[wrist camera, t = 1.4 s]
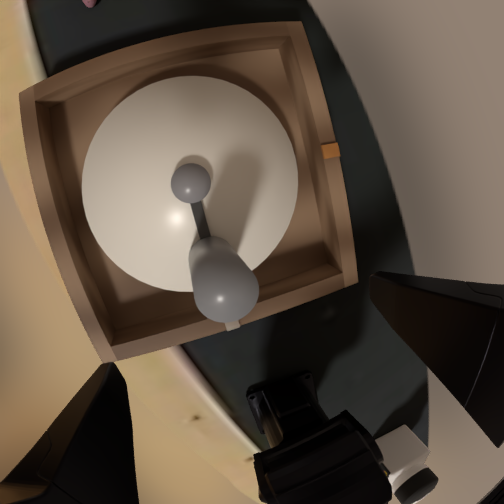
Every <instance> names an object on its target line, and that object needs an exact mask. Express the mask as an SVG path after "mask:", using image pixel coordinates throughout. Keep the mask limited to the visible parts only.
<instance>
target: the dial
mask: <svg viewBox="0 0 504 504" xmlns="http://www.w3.org/2000/svg"><path fill="white" fill-rule="evenodd" d="M297 191H298V170H297V164H296V158H295V154H294V151H293V147H292V144H291V142H290V140H289V137H288V135H287V133H286V131H285V129H284V128H283V126H282V124H281V123H280V121H279V120H278V118H277V117H276V116H275V115H274V113H273V112H272V111H271V110H270V109H269V108H268V107H267V106H266V105H265V104H264V103H263V102H262V101H261V100H260V99H258V98H257V97H255V96H254V95H253V94H251V93H250V92H248V91H247V90H245V89H243V88H241V87H239V86H237V85H235V84H232V83H229V82H227V81H224V80H220V79H216V78H211V77H204V76H180V77H174V78H169V79H164V80H161V81H158V82H155V83H152V84H150V85H148V86H146V87H144V88H142V89H140V90H138V91H136V92H135V93H133V94H132V95H130V96H129V97H127V98H126V99H124V100H123V101H122V102H121V103H120V104H119V105H117V106H116V107H115V108H114V109H113V110H112V111H111V113H110V114H109V115H108V116H107V117H106V118H105V120H104V121H103V122H102V124H101V125H100V127H99V128H98V130H97V132H96V133H95V135H94V137H93V140H92V142H91V144H90V146H89V149H88V152H87V155H86V158H85V162H84V168H83V173H82V198H83V206H84V210H85V214H86V218H87V221H88V223H89V226H90V229H91V231H92V233H93V235H94V237H95V239H96V240H97V242H98V244H99V245H100V247H101V248H102V249H103V251H104V252H105V253H106V255H107V256H108V257H109V258H110V259H111V260H112V261H113V262H114V263H115V264H116V265H117V266H118V267H120V268H121V269H122V270H123V271H125V272H126V273H127V274H129V275H131V276H132V277H134V278H136V279H137V280H139V281H141V282H144V283H146V284H149V285H151V286H154V287H158V288H161V289H165V290H171V291H178V292H193V293H194V299H195V303H196V305H197V307H198V309H199V310H200V312H201V313H202V314H203V315H204V316H206V317H207V318H209V319H211V320H213V321H216V322H222V323H228V322H233V321H237V320H239V319H241V318H243V317H244V316H246V315H247V314H248V313H249V312H250V311H251V310H252V309H253V307H254V306H255V304H256V302H257V300H258V296H259V285H258V281H257V278H256V276H255V275H254V273H253V272H252V270H253V269H255V268H256V267H257V266H258V265H260V264H261V263H262V262H263V261H264V260H265V259H266V258H267V257H268V256H269V255H270V254H271V252H272V251H273V250H274V249H275V248H276V246H277V245H278V243H279V242H280V240H281V239H282V237H283V236H284V234H285V232H286V230H287V228H288V226H289V224H290V221H291V218H292V215H293V212H294V208H295V204H296V199H297Z"/></svg>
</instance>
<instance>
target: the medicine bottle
mask: <svg viewBox="0 0 504 504" xmlns="http://www.w3.org/2000/svg"><path fill="white" fill-rule="evenodd" d="M375 441H376V443H377V445H378V446H379V448H380V450H381V452H382V455H383V458H384V461H383V462H382V463H380V466H381V467H382V469H383V471H384V473H385V474H386V476H387V478H388V480H389V482H390V484H391V486H392V492H393V493H394V495H395V496H396V497H397V499H398V500H399V501H400V503H401V504H415V503H416V502H418V501H420V500H421V499H423V498H424V497H425V496H426V495H428V494H429V493H430V492H431V491H432V490H433V489H434V488H435V486H436V484H437V482H438V477H437V476H436V475H435V474H434V473H433V472H432V471H431V470H430V469H429V467H428V466H427V465H425V464H424V463H425V461H426V459H427V457H428V455H429V453H430V450H429V449H428V448H427V447H426V446H425V444H424V443H423V442H422V441H421V440H420V439H419V438H418V437H417V436H416V435H415V434H414V433H413V432H412V431H411V430H410V429H409V428H408V427H407V426H406V425H402V426H400V427H399V428H397V429H395V430H393V431H391V432H389V433H387V434H385V435H383V436H381V437H379V438H377V439H375Z"/></svg>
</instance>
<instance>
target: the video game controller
mask: <svg viewBox="0 0 504 504" xmlns="http://www.w3.org/2000/svg"><path fill="white" fill-rule="evenodd" d="M96 1H97V0H83V2H84V4H85V5H86V6H87V7H89V8H92V7H94V6H95V4H96Z"/></svg>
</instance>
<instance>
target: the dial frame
mask: <svg viewBox="0 0 504 504" xmlns="http://www.w3.org/2000/svg"><path fill="white" fill-rule="evenodd" d="M180 76H204V77H211V78H216V79H220V80H224V81H227V82H229V83H232V84H235V85H237V86H239V87H241V88H243V89H245V90H247V91H248V92H250V93H251V94H253V95H254V96H255V97H257V98H258V99H260V100H261V101H262V102H263V103H264V104H265V105H266V106H267V107H268V108H269V109H270V110H271V111H272V112H273V113H274V115H275V116H276V117H277V118H278V120H279V121H280V123H281V124H282V126H283V128H284V129H285V131H286V133H287V135H288V137H289V140H290V142H291V144H292V147H293V151H294V154H295V158H296V164H297V170H298V191H297V199H296V204H295V208H294V212H293V215H292V218H291V221H290V224H289V226H288V228H287V230H286V232H285V234H284V236H283V237H282V239H281V240H280V242H279V243H278V245H277V246H276V248H275V249H274V250H273V251H272V252H271V254H270V255H269V256H268V257H267V258H266V259H265V260H264V261H263V262H262V263H261V264H260V265H258V266H257V267H256V268H255V269H253V270H252V272H253V273H254V275H255V276H256V278H257V281H258V285H259V296H258V300H257V302H256V304H255V306H254V307H253V309H252V310H251V311H250V312H249V313H248V314H247V315H246V316H244V317H243V318H241V319H239V320H237V321H233V322H228V323H222V322H216V321H213V320H211V319H209V318H207V317H206V316H204V315H203V314H202V313H201V312H200V310H199V309H198V307H197V305H196V303H195V299H194V293H193V292H178V291H171V290H165V289H161V288H158V287H154V286H151V285H149V284H146V283H144V282H141V281H139V280H137V279H136V278H134V277H132V276H131V275H129V274H127V273H126V272H125V271H123V270H122V269H121V268H120V267H118V266H117V265H116V264H115V263H114V262H113V261H112V260H111V259H110V258H109V257H108V256H107V255H106V253H105V252H104V251H103V249H102V248H101V247H100V245H99V244H98V242H97V240H96V239H95V237H94V235H93V233H92V231H91V229H90V226H89V223H88V221H87V218H86V214H85V210H84V206H83V198H82V173H83V168H84V162H85V158H86V155H87V152H88V149H89V146H90V144H91V142H92V140H93V137H94V135H95V133H96V132H97V130H98V128H99V127H100V125H101V124H102V122H103V121H104V120H105V118H106V117H107V116H108V115H109V114H110V113H111V111H112V110H113V109H114V108H115V107H116V106H117V105H119V104H120V103H121V102H122V101H123V100H124V99H126V98H127V97H129V96H130V95H132V94H133V93H135V92H136V91H138V90H140V89H142V88H144V87H146V86H148V85H150V84H152V83H155V82H158V81H161V80H164V79H169V78H174V77H180ZM19 102H20V112H21V121H22V128H23V135H24V142H25V148H26V154H27V159H28V164H29V169H30V174H31V178H32V183H33V187H34V191H35V195H36V199H37V203H38V207H39V210H40V214H41V217H42V221H43V224H44V227H45V231H46V234H47V237H48V240H49V243H50V246H51V249H52V252H53V255H54V257H55V260H56V263H57V266H58V268H59V271H60V274H61V276H62V279H63V281H64V284H65V286H66V289H67V291H68V293H69V296H70V298H71V300H72V303H73V305H74V307H75V309H76V311H77V314H78V316H79V318H80V320H81V322H82V324H83V326H84V328H85V330H86V332H87V334H88V336H89V338H90V340H91V342H92V344H93V346H94V348H95V349H96V352H97V354H98V355H99V357H100V359H101V361H102V362H103V363H107V362H115V361H119V360H123V359H127V358H131V357H135V356H139V355H142V354H146V353H150V352H154V351H157V350H161V349H164V348H168V347H171V346H175V345H178V344H182V343H185V342H189V341H192V340H195V339H199V338H202V337H205V336H209V335H212V334H215V333H218V332H221V331H225V330H227V331H229V330H233V329H236V328H239V327H240V325H243V324H246V323H249V322H252V321H255V320H258V319H261V318H264V317H267V316H270V315H272V314H275V313H278V312H281V311H284V310H287V309H289V308H292V307H295V306H298V305H300V304H303V303H306V302H308V301H311V300H314V299H316V298H319V297H322V296H324V295H327V294H330V293H332V292H335V291H337V290H340V289H342V288H345V287H347V286H350V285H352V284H355V283H357V282H358V274H357V265H356V257H355V249H354V241H353V234H352V227H351V220H350V214H349V208H348V202H347V196H346V190H345V185H344V179H343V174H342V169H341V164H340V159H339V156H340V152H339V147H338V143H336V141H335V136H334V132H333V128H332V123H331V119H330V115H329V111H328V107H327V103H326V100H325V96H324V92H323V88H322V85H321V81H320V78H319V74H318V71H317V68H316V64H315V61H314V58H313V55H312V51H311V48H310V45H309V42H308V39H307V36H306V33H305V30H304V27H303V24H302V22H301V21H292V22H264V23H250V24H239V25H230V26H222V27H214V28H208V29H202V30H196V31H190V32H185V33H180V34H175V35H171V36H166V37H162V38H158V39H154V40H150V41H146V42H143V43H139V44H136V45H132V46H129V47H126V48H122V49H119V50H116V51H113V52H110V53H107V54H104V55H102V56H99V57H96V58H93V59H91V60H88V61H86V62H83V63H81V64H78V65H76V66H73V67H71V68H69V69H66V70H64V71H62V72H60V73H57V74H55V75H53V76H51V77H49V78H47V79H45V80H43V81H41V82H39V83H37V84H35V85H33V86H31V87H29V88H27V89H26V90H24V91H22V92H20V93H19Z"/></svg>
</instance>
